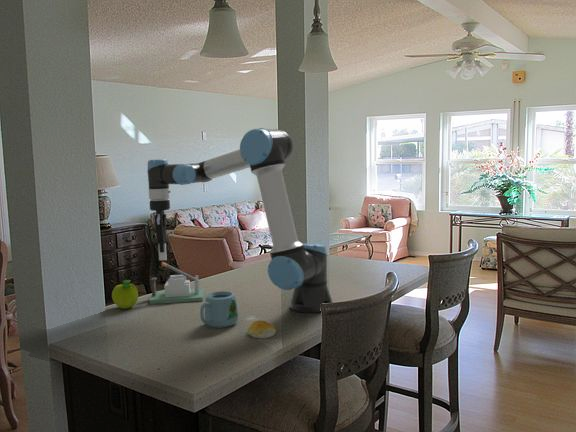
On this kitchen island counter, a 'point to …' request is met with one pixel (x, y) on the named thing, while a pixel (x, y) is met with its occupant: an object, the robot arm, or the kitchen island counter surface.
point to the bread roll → (261, 329)
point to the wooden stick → (178, 271)
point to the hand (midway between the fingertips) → (162, 259)
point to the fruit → (125, 295)
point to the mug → (220, 310)
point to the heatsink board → (177, 299)
